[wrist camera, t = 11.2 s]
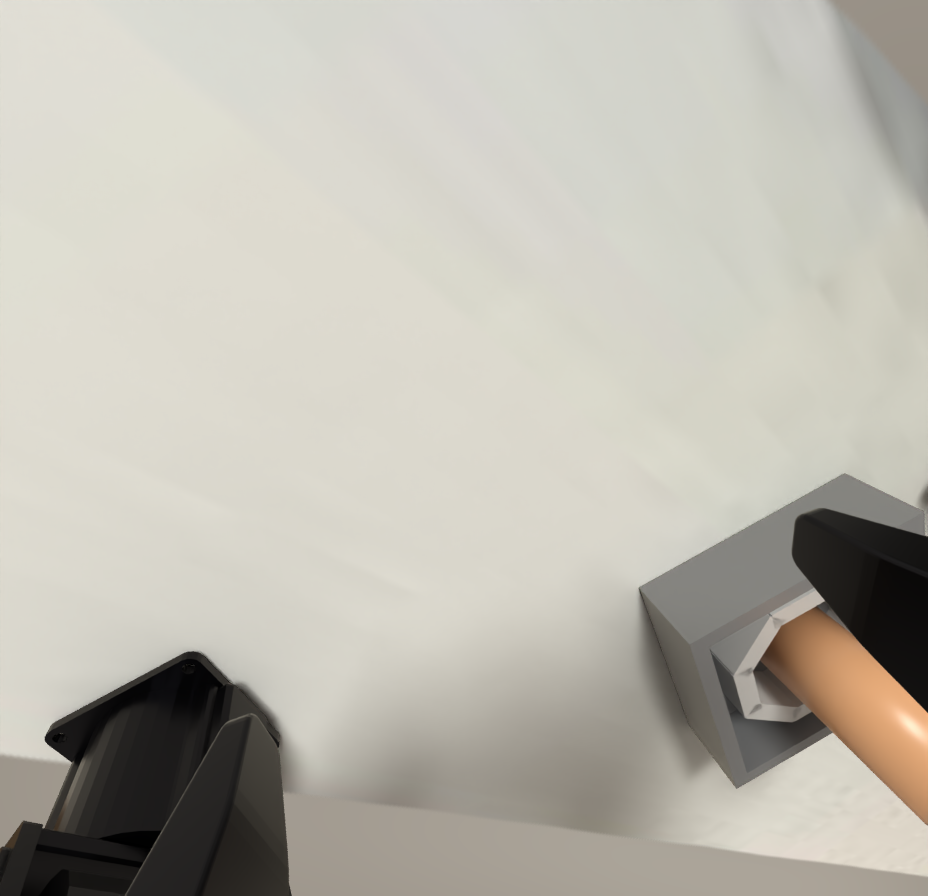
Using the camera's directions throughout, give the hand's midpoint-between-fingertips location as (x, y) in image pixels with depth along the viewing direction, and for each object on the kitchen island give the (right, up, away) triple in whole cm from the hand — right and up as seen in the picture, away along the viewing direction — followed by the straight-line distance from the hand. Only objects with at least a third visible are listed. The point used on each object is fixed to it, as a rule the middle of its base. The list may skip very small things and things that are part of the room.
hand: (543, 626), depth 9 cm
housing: (+15, -6, +21) cm, 27 cm away
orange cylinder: (+15, -6, +21) cm, 26 cm away
